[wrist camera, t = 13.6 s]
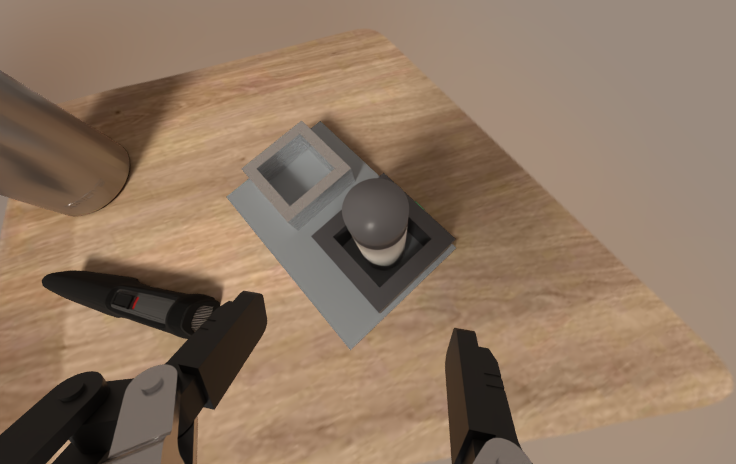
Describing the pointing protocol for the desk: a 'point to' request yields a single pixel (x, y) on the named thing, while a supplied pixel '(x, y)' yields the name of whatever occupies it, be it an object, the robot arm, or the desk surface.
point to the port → (380, 298)
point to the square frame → (283, 156)
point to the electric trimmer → (134, 300)
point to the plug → (377, 221)
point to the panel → (306, 257)
